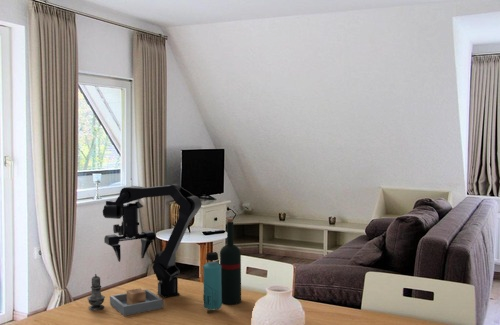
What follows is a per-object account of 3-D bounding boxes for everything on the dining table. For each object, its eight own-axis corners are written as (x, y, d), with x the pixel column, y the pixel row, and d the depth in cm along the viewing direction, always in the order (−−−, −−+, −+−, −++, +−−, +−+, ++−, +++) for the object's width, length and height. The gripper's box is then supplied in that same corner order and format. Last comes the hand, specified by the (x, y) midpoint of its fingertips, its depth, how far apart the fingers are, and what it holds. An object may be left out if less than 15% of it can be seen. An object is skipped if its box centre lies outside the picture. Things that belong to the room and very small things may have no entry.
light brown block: (140, 302, 188) (140, 288, 188) (145, 305, 184) (145, 291, 184) (126, 304, 186) (126, 290, 185) (131, 308, 181) (131, 294, 181)
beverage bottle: (225, 308, 182) (224, 251, 181) (217, 315, 176) (217, 255, 174) (207, 306, 184) (207, 250, 183) (199, 313, 178) (199, 254, 177)
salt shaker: (100, 311, 180) (99, 276, 179) (84, 310, 181) (83, 275, 180) (108, 305, 185) (107, 271, 185) (92, 304, 187) (92, 271, 186)
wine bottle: (244, 296, 195) (244, 216, 193) (239, 305, 185) (238, 220, 183) (223, 295, 197) (223, 215, 195) (217, 304, 187) (216, 220, 185)
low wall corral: (147, 297, 194) (147, 289, 194) (162, 308, 183) (162, 299, 183) (110, 304, 187) (109, 295, 187) (123, 315, 175) (123, 306, 175)
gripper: (145, 214, 213) (146, 252, 214) (99, 218, 203) (100, 258, 203) (156, 218, 203) (157, 258, 204) (108, 222, 193) (109, 265, 194)
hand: (131, 259), depth 202 cm, fingers open, 9 cm apart
